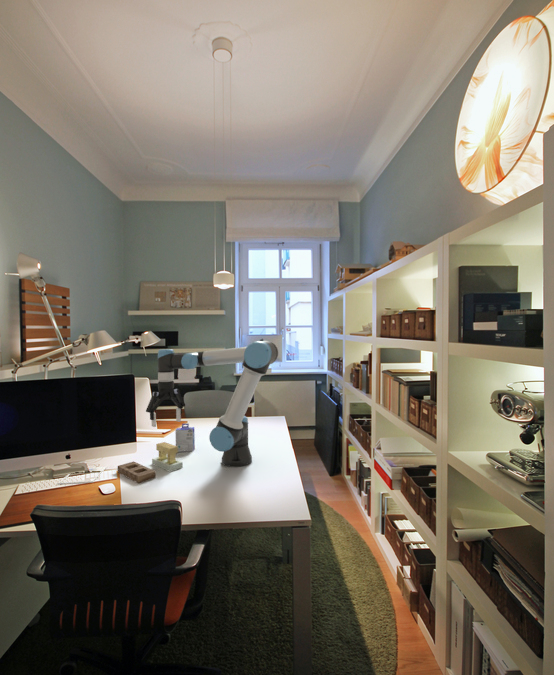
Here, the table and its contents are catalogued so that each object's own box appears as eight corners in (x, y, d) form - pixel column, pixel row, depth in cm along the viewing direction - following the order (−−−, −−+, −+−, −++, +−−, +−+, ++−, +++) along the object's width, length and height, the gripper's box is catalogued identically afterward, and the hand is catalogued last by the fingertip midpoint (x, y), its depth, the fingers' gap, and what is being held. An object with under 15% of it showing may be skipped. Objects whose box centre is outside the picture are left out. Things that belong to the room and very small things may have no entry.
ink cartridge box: (195, 448, 209) (194, 422, 209) (193, 451, 203) (193, 425, 203) (177, 449, 208) (176, 423, 208) (175, 452, 202) (175, 425, 202)
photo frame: (107, 466, 179) (93, 480, 162) (107, 468, 179) (93, 483, 162) (75, 468, 178) (57, 482, 160) (75, 470, 178) (57, 485, 160)
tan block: (177, 467, 179) (177, 446, 179) (169, 469, 176) (169, 448, 176) (164, 461, 187) (164, 442, 187) (156, 464, 184) (156, 444, 184)
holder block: (182, 467, 179) (182, 462, 179) (169, 471, 173) (169, 466, 173) (164, 460, 189) (164, 455, 189) (152, 463, 184) (152, 458, 184)
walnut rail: (155, 477, 166) (155, 471, 166) (138, 483, 160) (138, 476, 160) (133, 467, 179) (133, 461, 179) (117, 472, 173) (117, 465, 173)
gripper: (183, 377, 193) (183, 418, 193) (138, 382, 175) (138, 427, 175) (191, 378, 188) (192, 420, 188) (146, 383, 169) (146, 430, 170)
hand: (166, 423), depth 181 cm, fingers open, 13 cm apart
